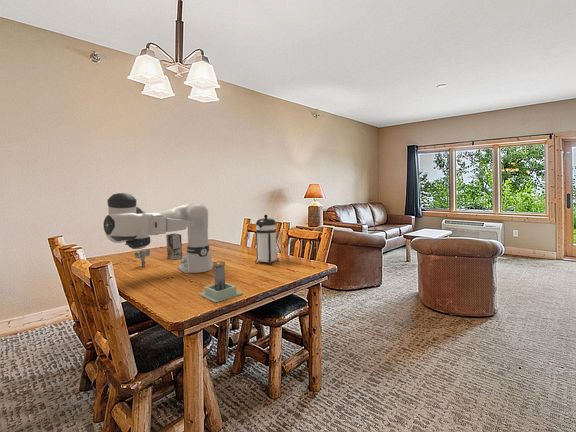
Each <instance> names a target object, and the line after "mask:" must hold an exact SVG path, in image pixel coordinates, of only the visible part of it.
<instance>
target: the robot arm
mask: <svg viewBox="0 0 576 432" xmlns="http://www.w3.org/2000/svg"><path fill="white" fill-rule="evenodd" d="M106 201H107V206H108V208H107V209H108V215H106V216H105V218H104V220H103V231H104V233H105V235H106V238H107V239H108V240H109V241H110V242H113V243H116V244H121V243H125V244H124V246H128V247H129V248H130V249H132V250H144V249H146V247H147V246H150V244H151V241H152V240H151V236H159V235H164V234H166V235H167V233H170V232H171V233H172V232H179V231H184V230H187V244H188V245H187V246H186V253H185V254H184V255H182V258H181V259H180V263H181V264H179V265H177V269H178V270H180V271H181V272H183V274H189V273H190V274H191V273H192V274H193V273H194V274H195V273H205V272H209V271H211V270H212V269H213V268H214V266H213V260H212V259H213V258H212V253H211V252H210V245H209V210H208V208H207V206H206V205H205V204H203V203H201V202H199V201H192V202H188V203H186V204H182V205H178V206H176V207H172V208H168V209H165V210H161V211H156V212H150V211H149V212H146V211H143V210H142V209H141V208H140V207H138V206H137V199H136V197H134V196H133V195H132V194H131V193H127V192H126V193H125V192H119V193H114V194H112V195H111V196H110V197H109V198H108V199H107V200H106Z"/></svg>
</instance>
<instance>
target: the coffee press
mask: <svg viewBox="0 0 576 432" xmlns="http://www.w3.org/2000/svg"><path fill="white" fill-rule="evenodd" d="M255 225H256V228H255V238H256V241H255V243H256V260H255V261H254V262H255V264H259V262H260V263H268V265H269V266H271V265H272V262H275V261H276V262H279V259H278V257H277V221H276V220H275V219H273V218H268V214H264V215H263V218H259V219H257V220H256V223H255Z"/></svg>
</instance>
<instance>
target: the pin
mask: <svg viewBox="0 0 576 432" xmlns="http://www.w3.org/2000/svg"><path fill="white" fill-rule="evenodd" d="M212 264H213V266H214V267H213V272H214V273H213V275H214V284H215V290H216V291H220V290H223V289H225V282H226V272H225V266H226V261H224V260H219V261H213V262H212Z"/></svg>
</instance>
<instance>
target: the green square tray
mask: <svg viewBox="0 0 576 432" xmlns="http://www.w3.org/2000/svg"><path fill="white" fill-rule="evenodd" d="M243 294H244V293H243V292H241V291H238V290H237V286H236V285H233V284H231V283H228V282H226V281H225V289H223V290H220V291H216V290H215V283H214V284H210V285H207V286H204V291H203V292H200V293H199V292H198V296H200V295H201V296H200V297H202V296H203V297H202V298H204V297H205V298H204V299H206V298H207V299H206V300H208V299H209V300H208V301H210V300H211V301H210V302H212V301H213V302H212V303H214V302H215V303H214V304H216V302H218V303H221V302H224V301H227V300H231V299H233V298H236V297H238V296H242V295H243ZM226 299H227V300H226ZM223 300H224V301H223ZM220 301H221V302H220Z"/></svg>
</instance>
